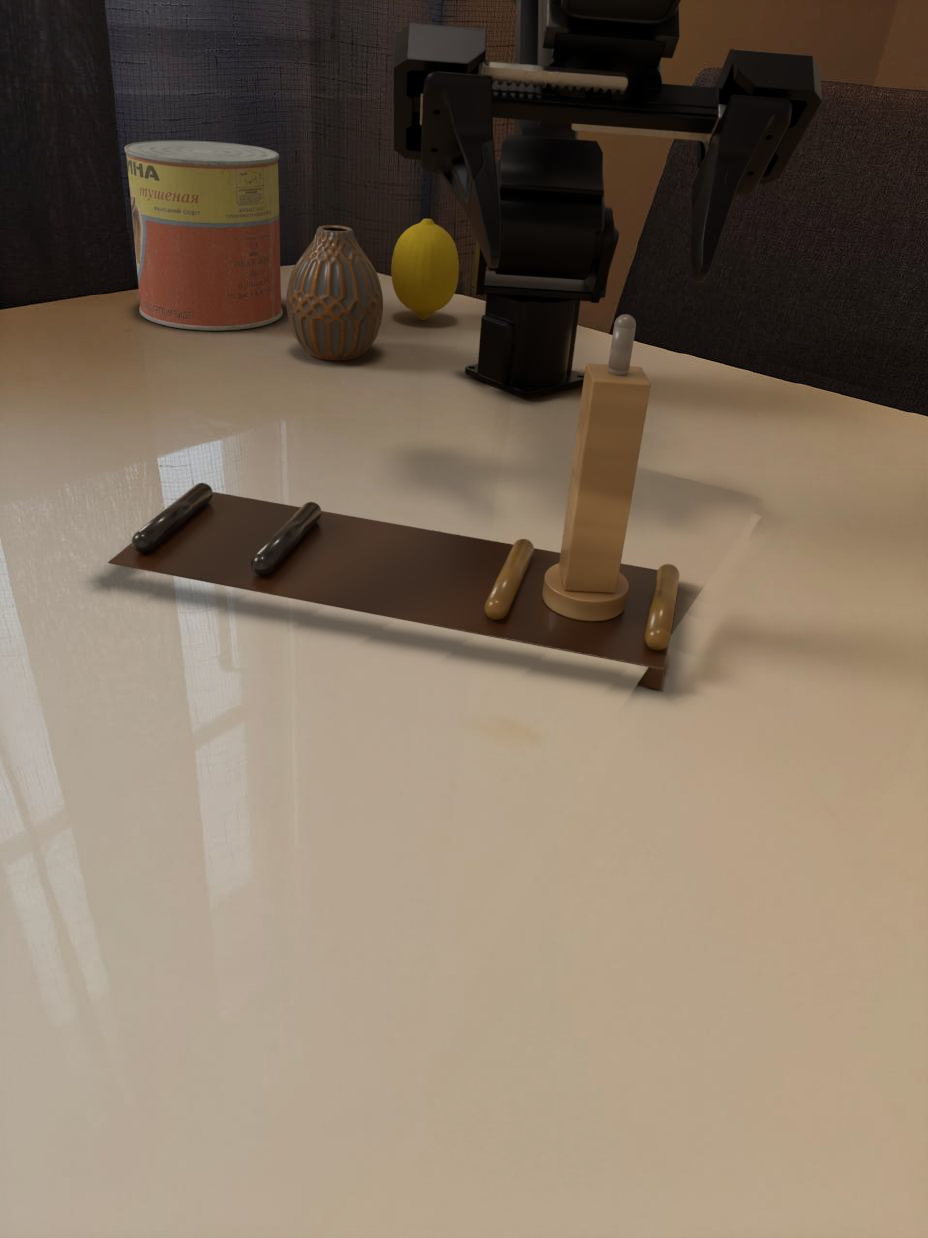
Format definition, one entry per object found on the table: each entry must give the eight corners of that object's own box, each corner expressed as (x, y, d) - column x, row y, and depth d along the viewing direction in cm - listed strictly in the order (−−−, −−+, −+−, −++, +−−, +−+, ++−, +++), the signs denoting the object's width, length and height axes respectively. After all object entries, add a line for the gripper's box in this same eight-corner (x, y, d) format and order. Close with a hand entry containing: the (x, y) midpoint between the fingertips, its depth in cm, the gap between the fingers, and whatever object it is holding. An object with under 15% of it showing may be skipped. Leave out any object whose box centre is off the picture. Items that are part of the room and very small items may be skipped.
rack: (109, 582, 44) (104, 541, 43) (198, 506, 51) (196, 469, 50) (660, 690, 40) (669, 647, 39) (675, 591, 47) (683, 553, 46)
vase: (395, 348, 77) (400, 226, 73) (358, 372, 71) (360, 242, 67) (313, 334, 79) (312, 214, 74) (270, 357, 73) (266, 229, 69)
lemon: (448, 331, 82) (454, 227, 78) (382, 323, 83) (384, 220, 79) (461, 315, 87) (468, 216, 83) (399, 307, 88) (402, 209, 83)
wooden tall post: (538, 577, 45) (573, 299, 39) (618, 582, 45) (665, 305, 39) (545, 619, 42) (584, 324, 36) (631, 624, 42) (684, 330, 36)
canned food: (141, 293, 86) (127, 137, 80) (276, 294, 88) (272, 143, 82) (137, 330, 76) (121, 157, 70) (288, 330, 79) (285, 164, 73)
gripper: (403, -217, 40) (382, 122, 36) (867, -173, 41) (894, 160, 37) (402, 15, 51) (385, 294, 47) (768, 45, 52) (781, 320, 48)
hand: (598, 269), depth 44 cm, fingers open, 9 cm apart
